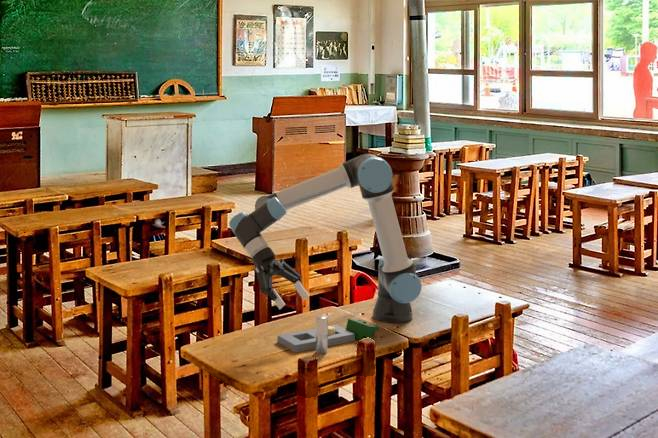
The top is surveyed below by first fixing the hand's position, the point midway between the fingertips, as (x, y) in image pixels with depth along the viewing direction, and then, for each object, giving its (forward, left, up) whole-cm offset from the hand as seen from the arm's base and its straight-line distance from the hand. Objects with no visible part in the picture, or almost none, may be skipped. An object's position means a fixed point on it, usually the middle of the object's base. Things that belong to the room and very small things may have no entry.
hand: (294, 302), depth 277 cm
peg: (-5, +10, -15) cm, 19 cm away
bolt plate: (-9, 0, -15) cm, 17 cm away
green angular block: (-25, +4, -15) cm, 30 cm away
